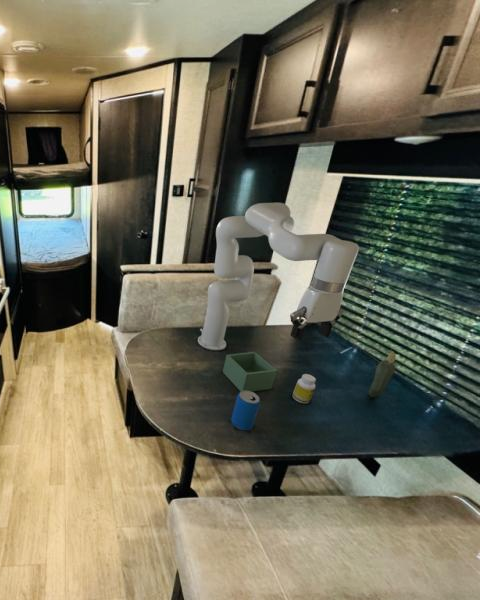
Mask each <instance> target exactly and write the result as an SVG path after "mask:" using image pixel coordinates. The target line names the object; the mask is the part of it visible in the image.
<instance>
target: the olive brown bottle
mask: <svg viewBox="0 0 480 600" xmlns="http://www.w3.org/2000/svg"><path fill="white" fill-rule="evenodd" d="M396 358H397V357H396V354H395V352H394V351H393V350H392V349H390V350H389V351H388V355H387V357H386V359H383V360H381V361H380V362H379V363H378V364H377V366H376V369H375V372H374V378H373V381H372V383H371V385H370V387H369V389H368V395H369V396H370V397H371V398H376V397H377V398H379V397H380V396H381V395H382V394H383V393H384V391H386V388H387V385H388V383H389V381H390V380H391V379H392V376H393V375H394V373H395V371H396V364H395V363H394V362H395V361H396Z"/></svg>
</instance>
